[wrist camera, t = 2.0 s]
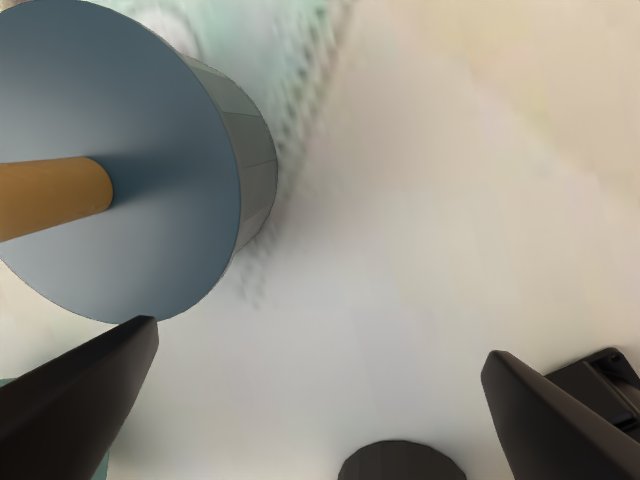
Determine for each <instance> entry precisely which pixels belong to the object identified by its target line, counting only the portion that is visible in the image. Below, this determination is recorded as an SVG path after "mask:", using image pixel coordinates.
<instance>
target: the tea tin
mask: <svg viewBox="0 0 640 480" xmlns="http://www.w3.org/2000/svg"><path fill="white" fill-rule="evenodd" d="M180 54H181V53H180ZM181 55H182V56H183V57H184V58H185V59H186V60H187V62H188V63H189V64H190V65H191V66H192V67H193V68H194V69H195V70H196V71H197V73H198V74H199V75H200V77H201V78H202V80H203V81H204V82H205V84H206V85H207V86H208V88H209V89H210V91H211V92H212V94H213V95H214V97H215V99H216V101H217V103H218V104H219V106H220V108H221V110H222V111H223V113H224V115H225V117H226V120H227V122H228V125H229V127H230V129H231V132H232V134H233V137H234V140H235V143H236V147H237V150H238V154H239V157H240V161H241V167H242V173H243V179H244V193H245V209H244V220H243V227H242V232H241V236H240V240H239V244H238V247H237V249H236V252H237V251H238V250H239V249H241V248H242V247H243V246H244V245H245V244H246V243H247V242H248V241H250V240H251V239H252V238H253V237H254V236H255V235H256V234H257V233H258V232H259V230H260V228H261V226H262V225H263V223H264V222H265V220H266V218H267V216H268V215H269V212H270V210H271V207H272V205H273V201H274V197H275V193H276V187H277V159H276V152H275V148H274V144H273V140H272V137H271V135H270V132H269V129H268V127H267V124H266V123H265V121H264V119H263V117H262V115H261V113H260V112H259V110H258V109H257V107H256V106H255V104H254V103H253V102H252V100H251V99H250V98H249V97H248V96H247V95H246V93H245V92H244V91H243V90H242V89H241V88H240V87H239V86H237V84H236V83H235V82H234V81H232V80H231V79H229V78H227V77H226V76H224V75H223V74H221V73H220V72H218V71H216V70H214V69H212V68H210V67H208V66H206V65H205V64H203V63H201V62H199V61H198V60H196V59H193V58H191V57H188V56H186V55H183V54H181ZM236 252H235V253H236Z"/></svg>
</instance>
